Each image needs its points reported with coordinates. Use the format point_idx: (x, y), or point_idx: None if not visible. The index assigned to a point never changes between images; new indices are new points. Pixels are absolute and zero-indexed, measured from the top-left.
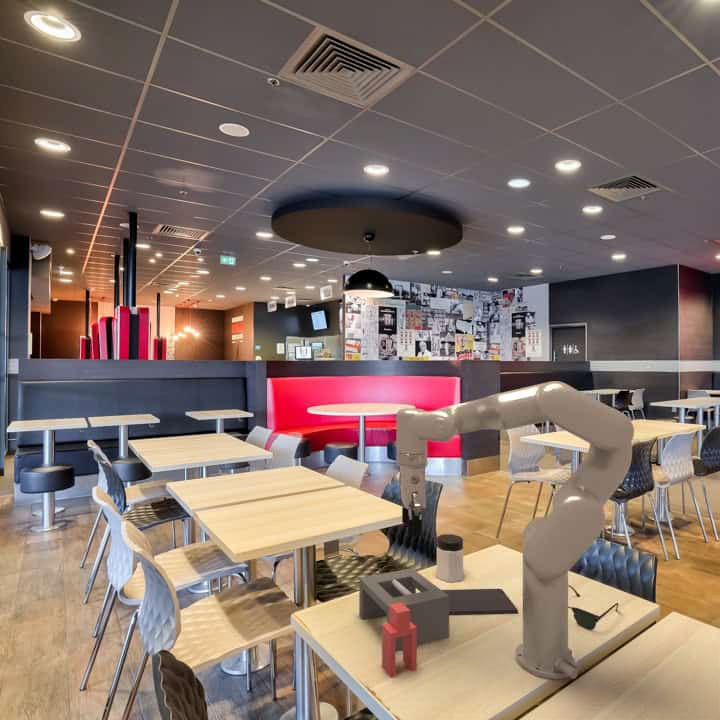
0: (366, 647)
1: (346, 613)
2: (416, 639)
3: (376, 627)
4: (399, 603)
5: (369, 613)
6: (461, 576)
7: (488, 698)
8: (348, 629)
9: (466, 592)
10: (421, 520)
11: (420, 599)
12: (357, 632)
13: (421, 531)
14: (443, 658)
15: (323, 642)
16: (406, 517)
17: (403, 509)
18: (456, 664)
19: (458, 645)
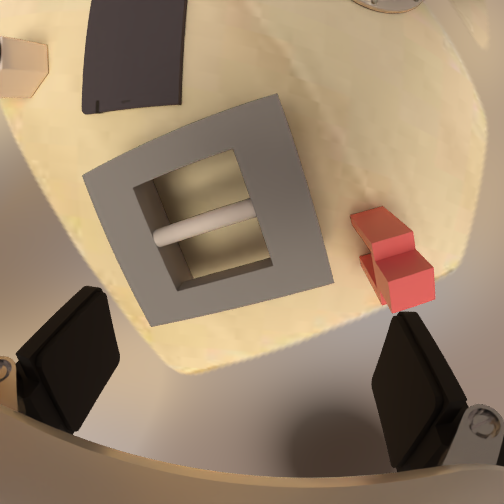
0: None
1: None
2: (402, 222)
3: (224, 255)
4: (394, 287)
5: (183, 267)
6: (41, 45)
7: (463, 112)
8: None
9: (99, 34)
10: (461, 394)
11: (291, 189)
12: None
13: (428, 331)
14: (355, 141)
15: (269, 348)
16: (98, 367)
17: (78, 427)
18: (377, 123)
19: (312, 94)
